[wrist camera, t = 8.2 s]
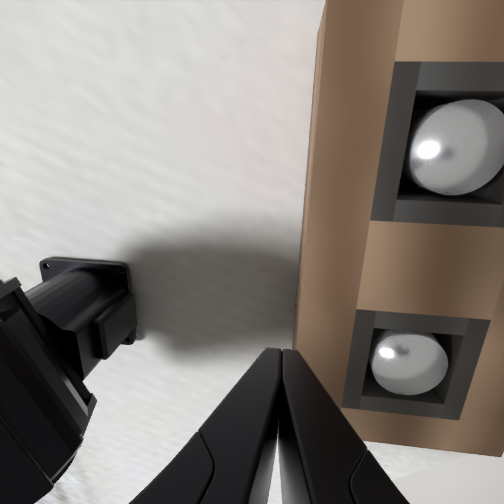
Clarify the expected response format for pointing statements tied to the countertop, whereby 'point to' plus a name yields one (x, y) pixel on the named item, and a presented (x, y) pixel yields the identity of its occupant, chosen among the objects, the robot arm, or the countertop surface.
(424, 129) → the peg short
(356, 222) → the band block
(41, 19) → the countertop surface
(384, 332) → the peg tall
